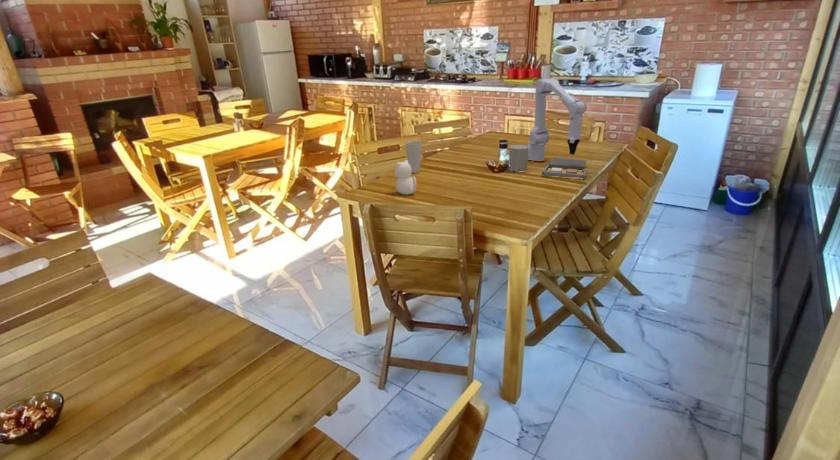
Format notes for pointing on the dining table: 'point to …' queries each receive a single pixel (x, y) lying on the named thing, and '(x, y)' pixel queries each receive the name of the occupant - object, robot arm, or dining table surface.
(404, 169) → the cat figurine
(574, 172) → the terracotta tile
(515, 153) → the grey canister
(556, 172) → the tray
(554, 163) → the plate
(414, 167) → the cup
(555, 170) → the cream tile
